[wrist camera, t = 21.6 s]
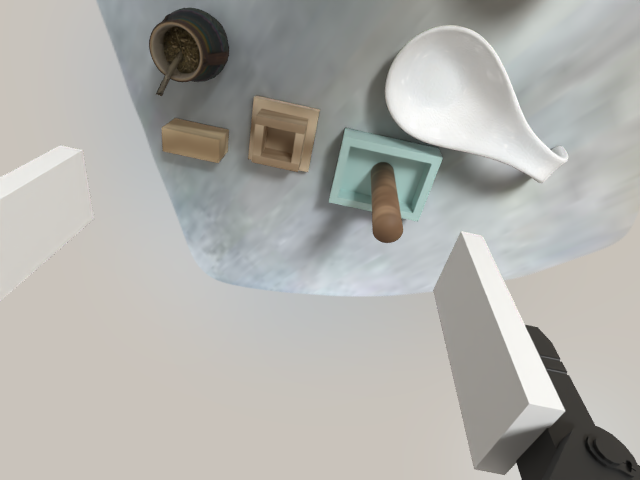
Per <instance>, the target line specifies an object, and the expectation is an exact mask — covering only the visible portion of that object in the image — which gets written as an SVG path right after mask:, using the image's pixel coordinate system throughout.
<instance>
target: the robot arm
mask: <svg viewBox="0 0 640 480" xmlns="http://www.w3.org/2000/svg"><path fill="white" fill-rule="evenodd" d="M93 219H94V216H93V209H92V203H91V197H90V191H89V185H88V178H87V172H86V166H85V160H84V153H83V150H81V149H76V148H71V147H66V146H62V145H60V146H58V147H56V148H54V149H52V150H51V151H48V152H47V153H45V154H43V155H41V156H39V157H37V158H35V159H34V160H32V161H30V162H28V163H26V164H24V165H23V166H20V167H18V168H17V169H15V170H13V171H11V172H9V173H8V174H5V175H4V176H2V177H0V301H1V300H2V299H3V298H5V297H6V296H7V295H8V294H9V293H10V292H11V291H12V290H14V289H15V288H16V287H17V286H18V285H19V284H21V283H22V282H23V281H24V280H25V279H26V278H27V277H29V275H31V274H32V273H33V272H34V271H35V270H36V269H37V268H39V267H40V266H41V265H42V264H43V263H44V262H45V261H47V260H48V259H49V258H50V257H51V256H52V255H54V253H56V252H57V251H58V250H59V249H60V248H61V247H63V246H64V245H65V244H66V243H67V242H68V241H69V240H71V239H72V238H73V237H74V236H75V235H76V234H77V233H79V232H80V231H81V230H82V229H83V228H84V227H85V226H87V225H88V224H89V223H90V222H91V221H92V220H93ZM433 291H434V295H435V300H436V304H437V309H438V313H439V317H440V322H441V326H442V331H443V334H444V339H445V344H446V348H447V352H448V357H449V361H450V365H451V370H452V374H453V379H454V383H455V387H456V392H457V396H458V400H459V405H460V409H461V414H462V418H463V422H464V427H465V431H466V435H467V440H468V444H469V448H470V453H471V457H472V461H473V466H474V469H476V470H482V471H487V472H492V473H497V474H502V475H505V474H506V473H507V472H508V471H509V470H510V469H511V468H512V467H513V466H514V464H515V463H516V462H517V465H518V469H519V472H520V475H521V478H522V480H640V466H639V465H637V463H636V460H635V458H634V457H633V455H632V454H631V453H630V452H629V450H628V449H627V448H626V447H625V446H624V445H623V444H622V443H621V442H620V441H619V440H618V439H617V438H616V437H614V436H613V435H612V434H610V433H609V432H607V431H605V430H604V429H602V428H600V427H597V426H595V424H594V422H593V420H592V418H591V416H590V415H589V413H588V411H587V409H586V407H585V405H584V403H583V401H582V399H581V397H580V396H579V394H578V392H577V390H576V388H575V386H574V384H573V382H572V380H571V378H570V377H569V375H567V371H566V369H565V367H564V365H563V363H562V362H560V357H559V355H558V354H557V352H556V350H555V348H554V346H553V344H552V343H551V341H550V340H549V339H548V338H547V337H546V336H545V335H544V334H543V333H542V332H541V331H540V329H538V327H533V326H528V325H525V324H524V322H523V320H522V318H521V316H520V314H519V312H518V310H517V308H516V305H515V303H514V301H513V299H512V297H511V295H510V293H509V291H508V289H507V287H506V284H505V282H504V280H503V278H502V276H501V274H500V272H499V269H498V267H497V265H496V263H495V261H494V259H493V257H492V255H491V253H490V250H489V248H488V246H487V244H486V242H485V240H484V238H483V236H481V235H477V234H472V233H467V232H463V231H461V232H460V235H459V237H458V239H457V241H456V243H455V245H454V247H453V249H452V252H451V254H450V256H449V258H448V260H447V262H446V264H445V266H444V268H443V271H442V273H441V275H440V277H439V279H438V281H437V283H436V285H435V287H434V290H433Z"/></svg>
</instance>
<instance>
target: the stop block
mask: <svg viewBox="0 0 640 480" xmlns="http://www.w3.org/2000/svg"><path fill="white" fill-rule="evenodd" d="M228 138H229V130H228V129H223V128H219V127H214V126H210V125H205V124H200V123H196V122H191V121H187V120H182V119H177V118H174V119H173V120H172V121H170V122H169V123H167V124H166V125H165V126H163V127H162V147H163V151H164V152H169V153H174V154H178V155H183V156H187V157H192V158H197V159H201V160H206V161H211V162H215V163H219V162H220V161H221V159H222V158H223V157H224V156H225V154H226V153H227V152H228Z"/></svg>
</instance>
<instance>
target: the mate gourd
mask: <svg viewBox="0 0 640 480" xmlns="http://www.w3.org/2000/svg"><path fill="white" fill-rule="evenodd" d="M149 48H150V53H151V57H152V59H153V61H154V63H155V65H156V67H157V68H158V69H159V70H160V72H161V73H163V74H164V75H165V76H164V79H163V81H162V82H161V84H160V87H159V89H158V91H157V93H156V94H158V95H160V96H162V95H163V92H164V90H165V88H166V86H167V84H168V82H169V80H170V79H172V80H174V81H178V82H188V81H194V82H200V81H207V80H209V79H212V78H214V77H215V76H217V75H218V74H219V73H220V72H221V70H222V69H223V67H224V66H225V65H226V62H227V60H228V56H229V46H228V40H227V36H226V33H225V31H224V29H223V27H222V26H221V24H220V23H219V22H218V21H217V20H216V19H215V18H214V17H212V16H211V15H209V14H208V13H206V12H204V11H202V10H199V9H195V8H183V9H179V10H177V11H175V12H173V13H171V14H168V15H167V16H166V17H165V18H164V20H163V21H162V22H160V23H159V24H158V25H156V27H155V28H154V29H153V31H152V33H151V36H150V39H149Z"/></svg>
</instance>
